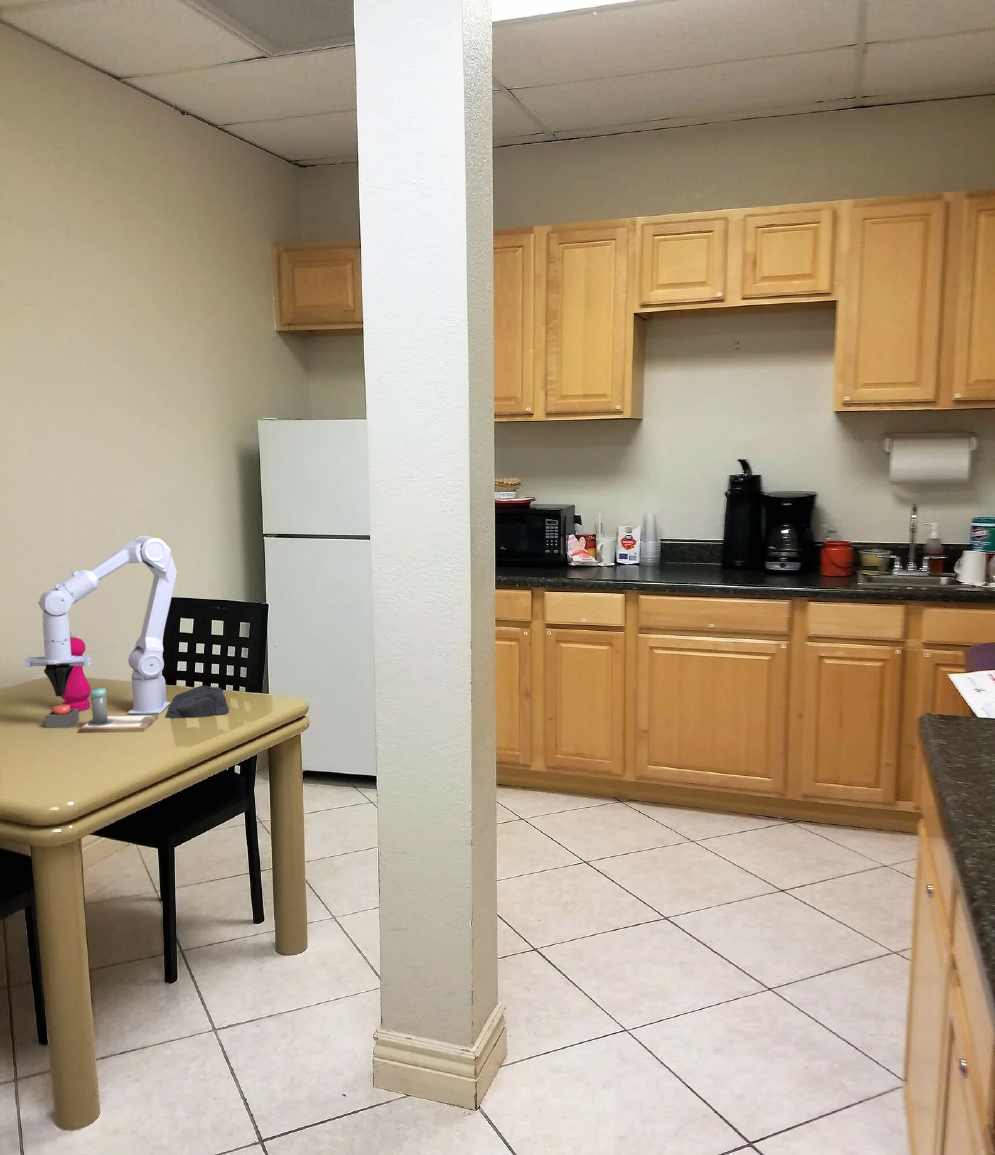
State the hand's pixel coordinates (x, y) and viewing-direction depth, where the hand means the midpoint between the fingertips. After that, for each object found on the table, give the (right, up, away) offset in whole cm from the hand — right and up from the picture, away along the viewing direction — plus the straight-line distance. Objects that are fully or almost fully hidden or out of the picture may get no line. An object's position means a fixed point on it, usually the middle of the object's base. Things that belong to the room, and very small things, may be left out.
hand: (60, 695), depth 224 cm
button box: (0, -7, +1) cm, 7 cm away
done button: (0, -5, +1) cm, 5 cm away
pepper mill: (-3, -5, +15) cm, 16 cm away
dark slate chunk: (+28, -6, +17) cm, 33 cm away
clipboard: (+14, -7, 0) cm, 16 cm away
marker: (+10, -6, -2) cm, 12 cm away
